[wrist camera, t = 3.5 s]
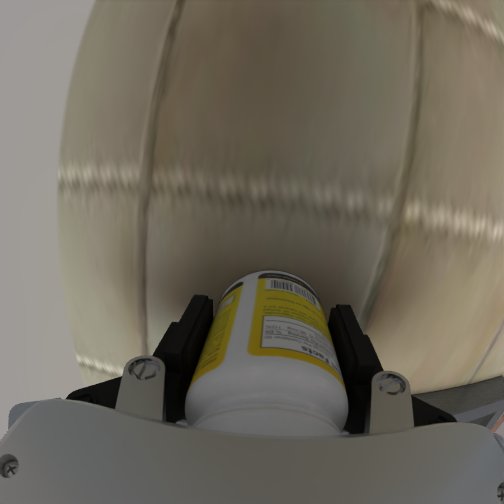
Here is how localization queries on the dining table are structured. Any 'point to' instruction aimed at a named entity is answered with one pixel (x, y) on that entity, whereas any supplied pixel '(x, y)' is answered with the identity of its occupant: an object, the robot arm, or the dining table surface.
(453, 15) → the dining table surface
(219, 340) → the supplement bottle
